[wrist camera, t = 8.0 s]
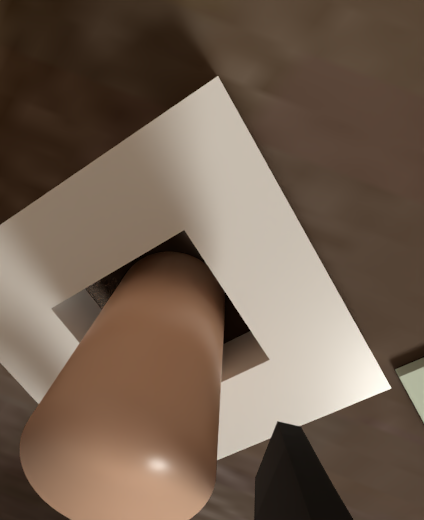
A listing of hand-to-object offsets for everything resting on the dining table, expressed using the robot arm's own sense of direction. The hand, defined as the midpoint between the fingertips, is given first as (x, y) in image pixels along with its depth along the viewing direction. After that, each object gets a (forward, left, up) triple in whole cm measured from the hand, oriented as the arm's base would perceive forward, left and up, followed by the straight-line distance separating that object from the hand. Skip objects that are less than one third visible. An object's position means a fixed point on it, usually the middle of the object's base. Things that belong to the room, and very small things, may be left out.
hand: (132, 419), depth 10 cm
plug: (0, 0, -7) cm, 7 cm away
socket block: (0, 0, -7) cm, 7 cm away
